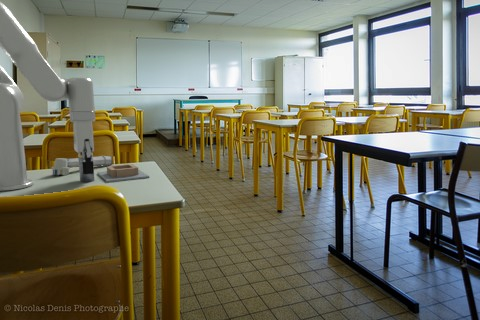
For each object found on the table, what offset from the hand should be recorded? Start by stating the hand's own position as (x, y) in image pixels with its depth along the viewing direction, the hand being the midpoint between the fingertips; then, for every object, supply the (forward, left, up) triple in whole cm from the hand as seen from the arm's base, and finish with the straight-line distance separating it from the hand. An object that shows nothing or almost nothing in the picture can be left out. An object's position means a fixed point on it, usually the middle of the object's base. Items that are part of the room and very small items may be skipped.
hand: (86, 171), depth 130 cm
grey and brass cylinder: (0, 0, -3) cm, 3 cm away
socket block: (+12, +2, -3) cm, 13 cm away
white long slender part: (+2, +20, -4) cm, 21 cm away
